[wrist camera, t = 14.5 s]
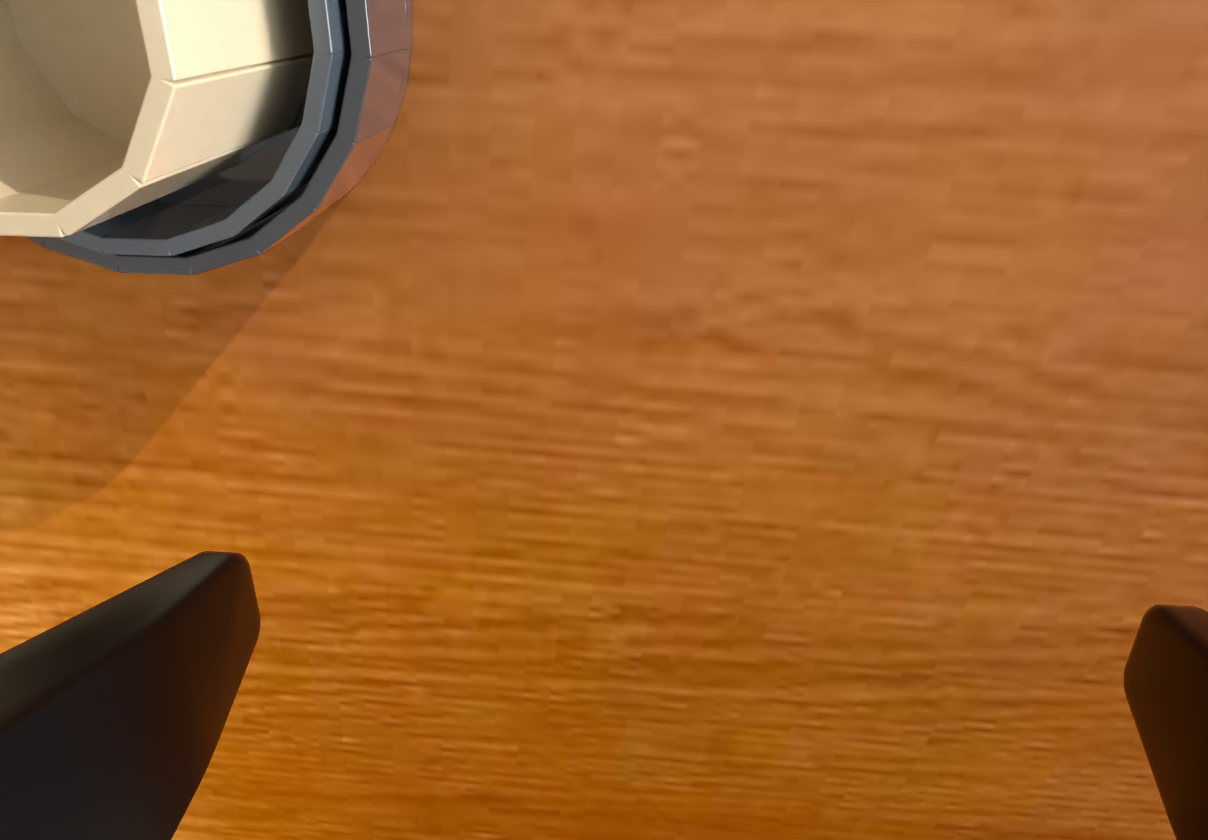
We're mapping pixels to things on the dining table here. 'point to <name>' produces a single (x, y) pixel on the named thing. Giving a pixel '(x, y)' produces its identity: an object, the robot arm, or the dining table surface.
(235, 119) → the cream cup
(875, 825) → the dining table surface
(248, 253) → the stack lower
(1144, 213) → the dining table surface
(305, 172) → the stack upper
